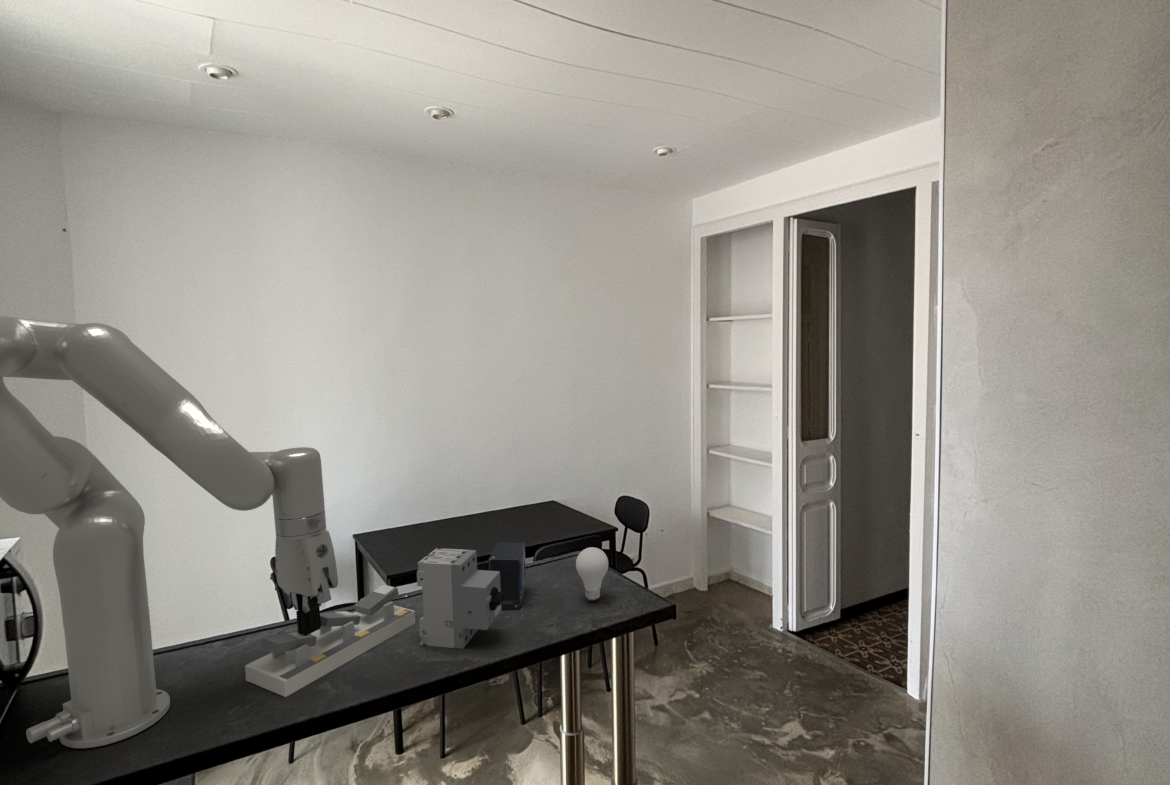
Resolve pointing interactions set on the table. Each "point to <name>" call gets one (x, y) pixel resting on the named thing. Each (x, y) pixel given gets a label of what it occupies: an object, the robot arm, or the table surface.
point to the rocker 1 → (287, 642)
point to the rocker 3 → (376, 600)
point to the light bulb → (592, 570)
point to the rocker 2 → (338, 618)
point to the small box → (510, 572)
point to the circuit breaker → (456, 597)
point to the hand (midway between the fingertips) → (309, 631)
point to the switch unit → (327, 650)
